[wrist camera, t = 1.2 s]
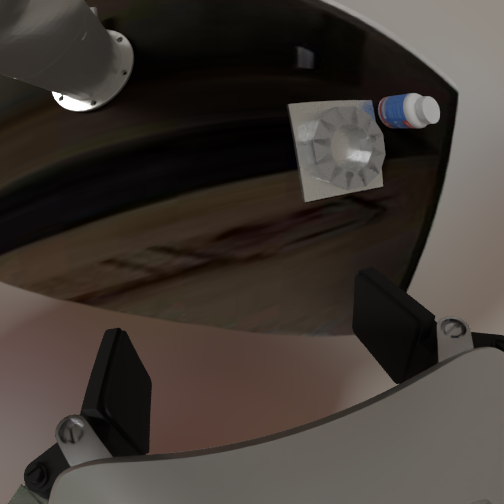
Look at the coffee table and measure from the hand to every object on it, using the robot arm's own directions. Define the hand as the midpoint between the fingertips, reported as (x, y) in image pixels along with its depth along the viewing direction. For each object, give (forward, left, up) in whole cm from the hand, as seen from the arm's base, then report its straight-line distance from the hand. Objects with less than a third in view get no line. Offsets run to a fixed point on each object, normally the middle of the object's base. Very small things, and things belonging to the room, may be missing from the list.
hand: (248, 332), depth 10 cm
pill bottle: (-9, +31, -29) cm, 43 cm away
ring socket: (-4, +20, -28) cm, 35 cm away
